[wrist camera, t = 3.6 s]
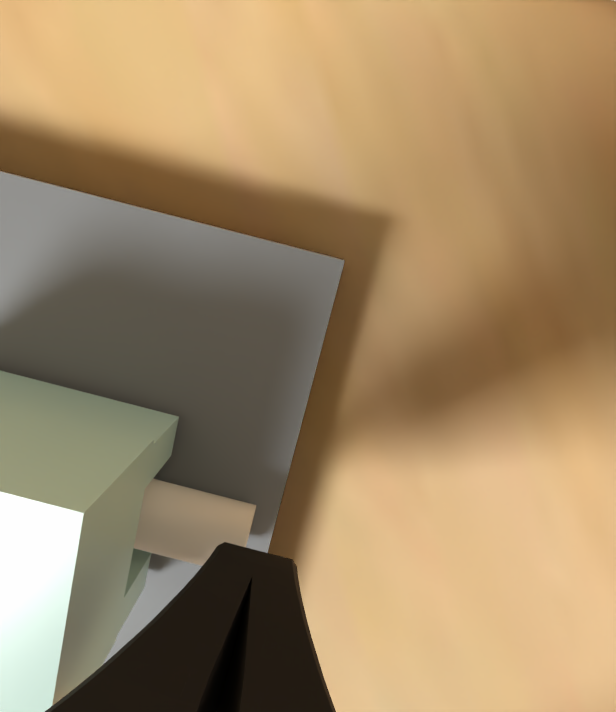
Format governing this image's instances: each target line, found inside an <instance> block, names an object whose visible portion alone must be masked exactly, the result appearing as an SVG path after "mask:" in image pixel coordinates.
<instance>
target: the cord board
mask: <svg viewBox="0 0 616 712" xmlns="http://www.w3.org/2000/svg"><path fill="white" fill-rule="evenodd" d="M344 262H345V260H344V259H340V258H336V257H333V256H329V255H325V254H321V253H317V252H313V251H309V250H305V249H302V248H298V247H294V246H290V245H286V244H282V243H278V242H275V241H271V240H267V239H263V238H259V237H255V236H251V235H248V234H244V233H240V232H236V231H232V230H228V229H224V228H221V227H217V226H213V225H209V224H205V223H201V222H197V221H194V220H190V219H186V218H182V217H178V216H174V215H170V214H167V213H163V212H159V211H155V210H151V209H147V208H143V207H139V206H136V205H132V204H128V203H124V202H120V201H116V200H112V199H109V198H105V197H101V196H97V195H93V194H89V193H85V192H82V191H78V190H74V189H70V188H66V187H62V186H58V185H55V184H51V183H47V182H43V181H39V180H35V179H31V178H28V177H24V176H20V175H16V174H12V173H8V172H4V171H1V170H0V370H1V371H4V372H8V373H12V374H16V375H20V376H24V377H28V378H32V379H35V380H39V381H43V382H47V383H51V384H55V385H59V386H63V387H66V388H70V389H74V390H78V391H82V392H86V393H90V394H94V395H97V396H101V397H105V398H109V399H113V400H117V401H121V402H125V403H128V404H132V405H136V406H140V407H144V408H148V409H152V410H156V411H159V412H163V413H167V414H171V415H175V416H179V420H178V425H177V430H176V435H175V439H174V444H173V449H172V454H171V457H170V458H169V459H168V460H167V462H166V463H165V464H164V465H163V467H162V468H161V469H160V470H159V472H158V473H157V474H156V475H155V477H154V478H153V479H157V480H161V481H164V482H168V483H172V484H176V485H180V486H184V487H188V488H192V489H195V490H199V491H203V492H207V493H211V494H215V495H219V496H223V497H227V498H230V499H234V500H238V501H242V502H246V503H250V504H254V505H256V510H255V514H254V518H253V522H252V526H251V530H250V533H249V537H248V541H247V545H246V548H250V549H254V550H258V551H261V552H265V553H268V549H269V545H270V542H271V538H272V534H273V530H274V526H275V523H276V519H277V515H278V511H279V508H280V504H281V500H282V496H283V492H284V489H285V485H286V481H287V477H288V473H289V470H290V466H291V462H292V458H293V455H294V451H295V447H296V443H297V439H298V436H299V432H300V428H301V424H302V421H303V417H304V413H305V409H306V405H307V402H308V398H309V394H310V390H311V387H312V383H313V379H314V375H315V371H316V368H317V364H318V360H319V356H320V353H321V349H322V345H323V341H324V337H325V334H326V330H327V326H328V322H329V319H330V315H331V311H332V307H333V303H334V300H335V296H336V292H337V288H338V285H339V281H340V277H341V273H342V269H343V266H344ZM201 567H202V566H200V565H197V564H193V563H189V562H185V561H181V560H177V559H173V558H169V557H165V556H162V555H158V554H154V553H151V558H150V562H149V567H148V572H147V577H146V582H145V587H144V589H143V590H142V592H141V594H140V596H139V598H138V599H137V601H136V603H135V605H134V606H133V608H132V610H131V612H130V614H129V615H128V617H127V619H126V621H125V622H124V624H123V626H122V628H121V630H120V631H119V633H118V635H117V637H116V641H115V643H114V645H113V646H112V648H111V650H110V652H109V654H108V655H107V657H106V659H105V661H104V663H106V662H107V661H108V660H109V659H110V658H111V657H112V656H113V655H114V654H116V653H117V652H118V651H119V650H120V649H121V648H122V647H123V646H124V645H126V644H127V643H128V642H129V641H130V640H131V639H132V638H133V637H134V636H135V635H137V634H138V633H139V632H140V631H141V630H142V629H143V628H144V627H145V626H146V625H147V624H148V623H150V622H151V621H152V620H153V619H154V618H155V617H156V616H157V615H158V614H159V613H160V612H161V611H162V609H163V608H164V607H165V606H166V605H167V604H168V603H169V602H170V601H171V600H172V599H173V598H174V597H175V596H176V595H177V594H178V593H179V592H180V591H181V590H182V589H183V588H184V587H185V586H186V584H187V583H188V582H189V581H190V580H191V579H192V578H193V577H194V575H195V574H196V573H197V572H198V571H199V570H200V568H201ZM104 663H103V664H104ZM103 664H102V665H103ZM216 712H217V711H216Z"/></svg>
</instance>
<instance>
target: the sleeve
mask: <svg viewBox="0 0 616 712" xmlns="http://www.w3.org/2000/svg"><path fill="white" fill-rule="evenodd" d="M178 420H179V416H175V415H171V414H167V413H163V412H159V411H156V410H152V409H148V408H144V407H140V406H136V405H132V404H128V403H125V402H121V401H117V400H113V399H109V398H105V397H101V396H97V395H94V394H90V393H86V392H82V391H78V390H74V389H70V388H66V387H63V386H59V385H55V384H51V383H47V382H43V381H39V380H35V379H32V378H28V377H24V376H20V375H16V374H12V373H8V372H4V371H1V370H0V712H45V711H46V710H48V709H49V708H50V707H51V706H53V705H54V704H55V703H57V702H58V701H59V700H60V699H62V698H63V697H64V696H66V695H67V694H68V693H69V692H71V691H72V690H73V689H74V688H76V687H77V686H78V685H79V684H80V683H82V682H83V681H84V680H85V679H87V678H88V677H89V676H90V675H91V674H93V673H94V672H95V671H96V670H97V669H99V668H100V667H101V666H102V664H103V663H104V661H105V659H106V657H107V655H108V654H109V652H110V650H111V648H112V646H113V645H114V643H115V641H116V637H117V635H118V633H119V631H120V630H121V628H122V626H123V624H124V622H125V621H126V619H127V617H128V615H129V614H130V612H131V610H132V608H133V606H134V605H135V603H136V601H137V599H138V598H139V596H140V594H141V592H142V590H143V589H144V587H145V582H146V577H147V572H148V567H149V562H150V558H151V553H150V552H146V551H142V550H138V549H134V543H135V538H136V533H137V528H138V523H139V517H140V512H141V507H142V502H143V497H144V492H145V488H146V487H147V486H148V484H149V483H150V482H151V480H152V479H153V478H154V477H155V475H156V474H157V473H158V472H159V470H160V469H161V468H162V467H163V465H164V464H165V463H166V462H167V460H168V459H169V458H170V457H171V454H172V449H173V444H174V439H175V435H176V430H177V425H178Z"/></svg>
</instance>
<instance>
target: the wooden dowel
mask: <svg viewBox="0 0 616 712" xmlns="http://www.w3.org/2000/svg"><path fill="white" fill-rule="evenodd" d="M255 510H256V505H254V504H250V503H246V502H242V501H238V500H234V499H230V498H227V497H223V496H219V495H215V494H211V493H207V492H203V491H199V490H195V489H192V488H188V487H184V486H180V485H176V484H172V483H168V482H164V481H161V480H157V479H152V480H151V482H150V483H149V484H148V486H147V487H146V488H145V492H144V497H143V502H142V507H141V512H140V517H139V523H138V528H137V533H136V538H135V543H134V549H138V550H142V551H146V552H150V553H154V554H158V555H162V556H165V557H169V558H173V559H177V560H181V561H185V562H189V563H193V564H197V565H200V566H203V565H204V563H205V562H206V561H207V560H208V558H209V557H210V556H211V554H212V553H213V551H214V550H215V548H216V547H217V546H218V545H220V544H222V543H224V542H227V543H231V544H235V545H238V546H242V547H246V545H247V541H248V537H249V533H250V530H251V526H252V522H253V518H254V514H255Z"/></svg>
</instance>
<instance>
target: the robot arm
mask: <svg viewBox="0 0 616 712" xmlns="http://www.w3.org/2000/svg"><path fill="white" fill-rule="evenodd" d="M216 711H217V712H336V711H335V708H334V705H333V703H332V700H331V697H330V695H329V692H328V689H327V686H326V683H325V680H324V677H323V674H322V671H321V667H320V664H319V661H318V657H317V654H316V651H315V648H314V644H313V641H312V638H311V634H310V630H309V627H308V623H307V619H306V615H305V611H304V606H303V602H302V598H301V593H300V587H299V582H298V575H297V567H296V565H295V563H294V561H293V560H292V559H288V558H285V557H281V556H277V555H273V554H269V553H265V552H261V551H258V550H254V549H250V548H246V547H242V546H238V545H235V544H231V543H227V542H224V543H222V544H220V545H218V546H217V547H216V548H215V550H214V551H213V553H212V554H211V556H210V557H209V558H208V560H207V561H206V562H205V563H204V565H203V566H202V567H201V568H200V570H199V571H198V572H197V573H196V574H195V575H194V577H193V578H192V579H191V580H190V581H189V582H188V583H187V584H186V586H185V587H184V588H183V589H182V590H181V591H180V592H179V593H178V594H177V595H176V596H175V597H174V598H173V599H172V600H171V601H170V602H169V603H168V604H167V605H166V606H165V607H164V608H163V609H162V611H161V612H160V613H159V614H158V615H157V616H156V617H155V618H154V619H153V620H152V621H151V622H150V623H148V624H147V625H146V626H145V627H144V628H143V629H142V630H141V631H140V632H139V633H138V634H137V635H135V636H134V637H133V638H132V639H131V640H130V641H129V642H128V643H127V644H126V645H124V646H123V647H122V648H121V649H120V650H119V651H118V652H117V653H116V654H114V655H113V656H112V657H111V658H110V659H109V660H108V661H107V662H106V663H104V664H103V665H102V666H101V667H100V668H99V669H97V670H96V671H95V672H94V673H93V674H91V675H90V676H89V677H88V678H87V679H85V680H84V681H83V682H82V683H80V684H79V685H78V686H77V687H76V688H74V689H73V690H72V691H71V692H69V693H68V694H67V695H66V696H64V697H63V698H62V699H60V700H59V701H58V702H57V703H55V704H54V705H53V706H51V707H50V708H49V709H48V710H46V711H45V712H216Z"/></svg>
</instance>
